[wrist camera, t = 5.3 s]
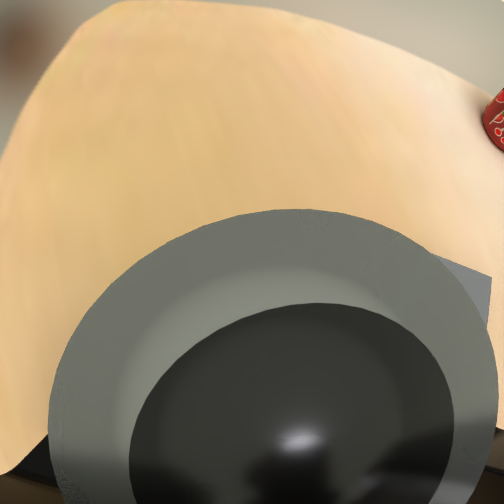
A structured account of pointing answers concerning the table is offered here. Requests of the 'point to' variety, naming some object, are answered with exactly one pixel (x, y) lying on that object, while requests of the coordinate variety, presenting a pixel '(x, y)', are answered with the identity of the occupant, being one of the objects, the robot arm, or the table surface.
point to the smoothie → (495, 119)
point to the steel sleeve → (277, 372)
